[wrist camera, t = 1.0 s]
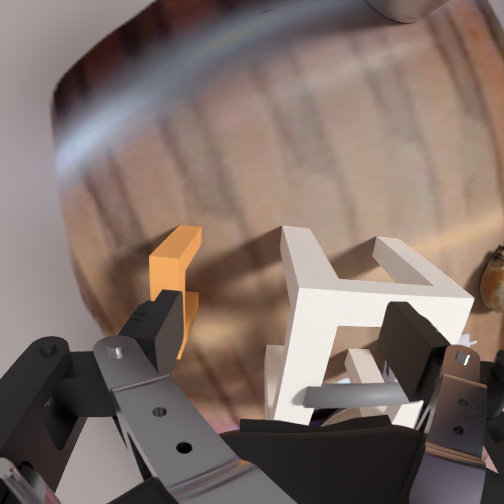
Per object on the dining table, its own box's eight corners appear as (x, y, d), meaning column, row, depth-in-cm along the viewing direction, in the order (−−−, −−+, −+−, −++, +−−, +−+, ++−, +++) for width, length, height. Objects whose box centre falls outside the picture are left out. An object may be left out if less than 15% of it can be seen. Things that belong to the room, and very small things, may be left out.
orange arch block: (179, 225, 35) (149, 255, 25) (201, 226, 35) (178, 258, 25) (178, 304, 38) (154, 355, 28) (198, 307, 38) (180, 359, 28)
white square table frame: (282, 225, 34) (301, 294, 18) (398, 238, 34) (481, 304, 18) (264, 359, 40) (265, 465, 24) (364, 363, 40) (401, 457, 24)
